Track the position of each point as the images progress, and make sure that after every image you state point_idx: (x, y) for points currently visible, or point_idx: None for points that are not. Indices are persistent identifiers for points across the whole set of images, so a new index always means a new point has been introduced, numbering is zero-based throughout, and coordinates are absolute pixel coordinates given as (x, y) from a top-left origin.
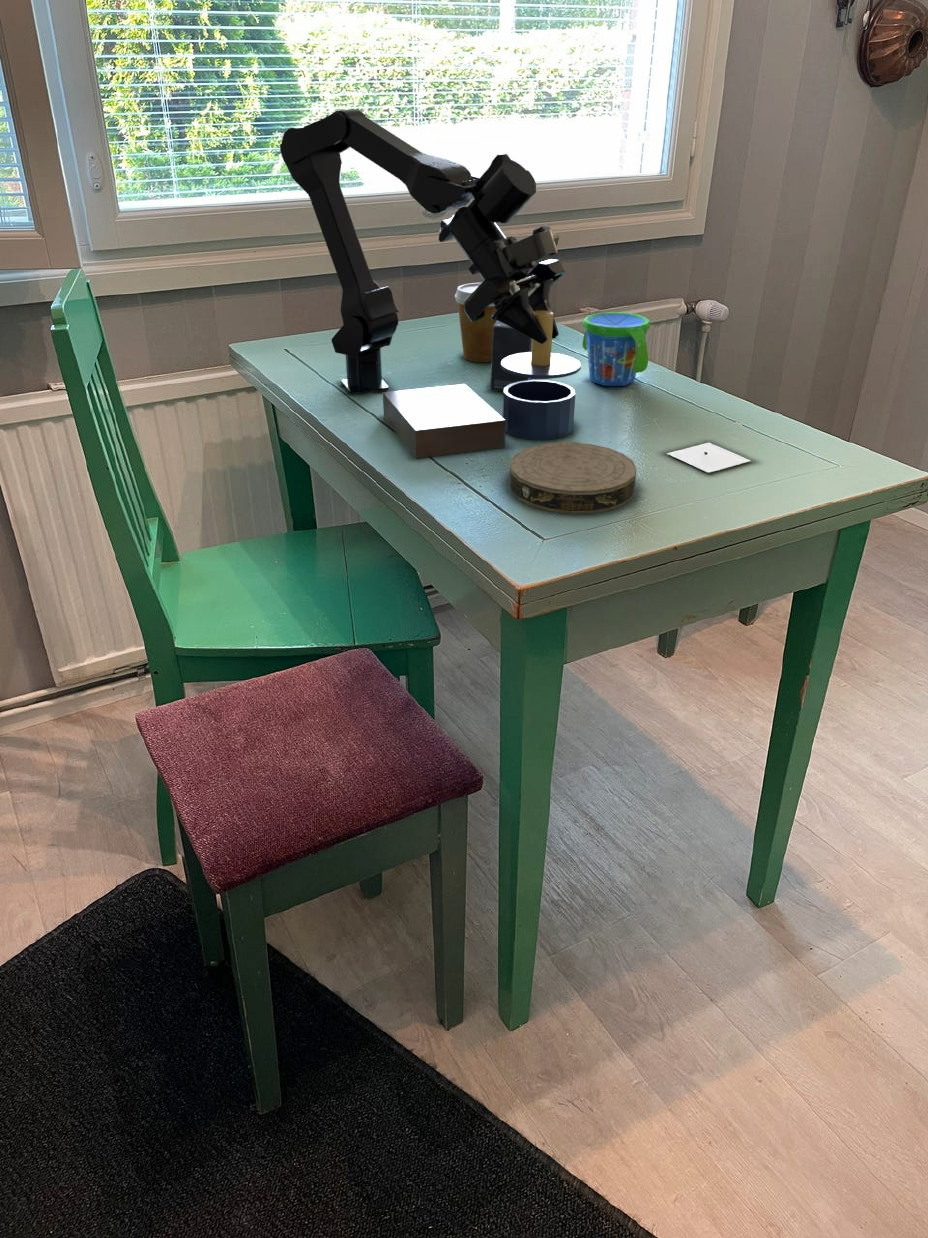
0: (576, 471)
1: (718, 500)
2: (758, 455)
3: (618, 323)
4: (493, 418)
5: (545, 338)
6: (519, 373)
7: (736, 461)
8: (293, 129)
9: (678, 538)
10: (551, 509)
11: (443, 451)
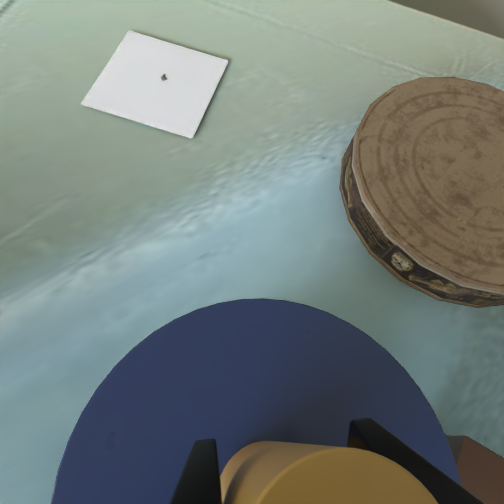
0: (493, 151)
1: (309, 26)
2: (89, 32)
3: None
4: (487, 479)
5: (374, 422)
6: (456, 470)
7: (148, 45)
8: None
9: (448, 27)
10: None
11: None
